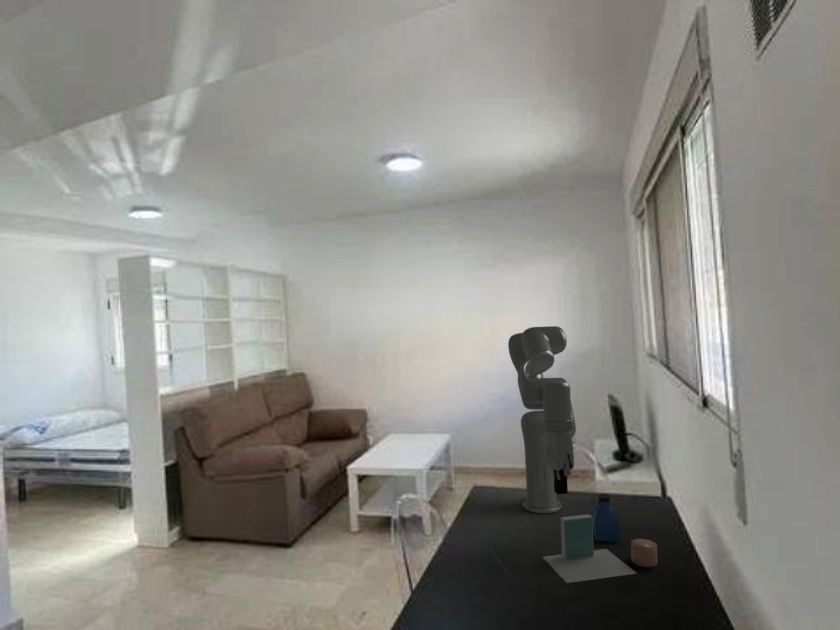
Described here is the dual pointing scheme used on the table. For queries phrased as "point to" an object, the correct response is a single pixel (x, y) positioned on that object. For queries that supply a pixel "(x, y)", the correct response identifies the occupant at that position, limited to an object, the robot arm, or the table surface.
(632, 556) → the brown rounded cylinder
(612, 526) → the perfume bottle
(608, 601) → the table surface
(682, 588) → the table surface
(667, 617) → the table surface
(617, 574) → the mat
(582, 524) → the tile
